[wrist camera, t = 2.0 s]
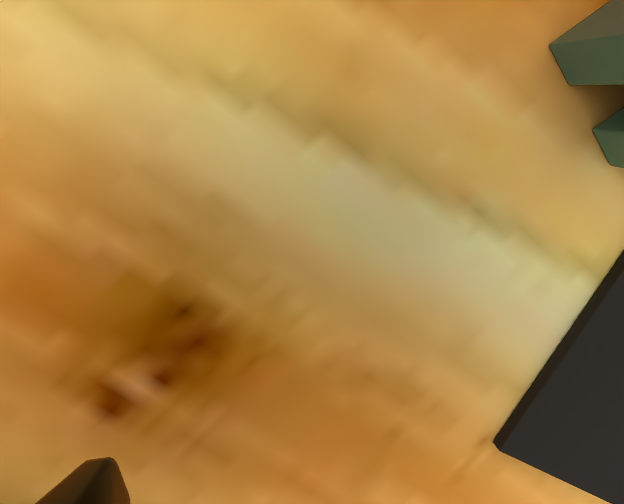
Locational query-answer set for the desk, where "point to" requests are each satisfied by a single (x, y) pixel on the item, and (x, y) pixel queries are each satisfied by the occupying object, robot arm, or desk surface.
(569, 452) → the desk pad
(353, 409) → the desk surface
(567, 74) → the letter
